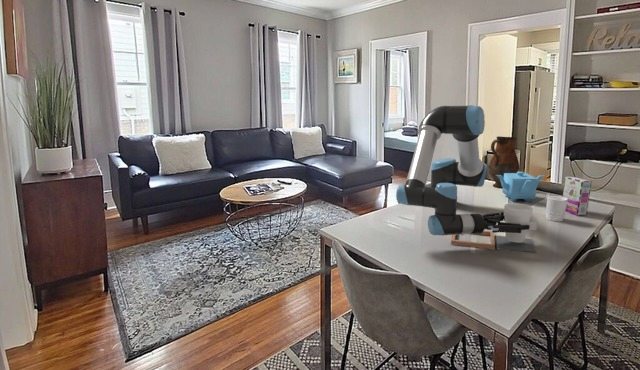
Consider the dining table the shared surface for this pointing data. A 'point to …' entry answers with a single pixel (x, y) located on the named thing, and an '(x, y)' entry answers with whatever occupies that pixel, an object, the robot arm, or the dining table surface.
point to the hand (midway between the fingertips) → (528, 221)
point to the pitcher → (503, 159)
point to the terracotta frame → (476, 244)
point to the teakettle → (519, 185)
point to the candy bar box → (577, 195)
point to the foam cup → (517, 219)
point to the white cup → (556, 208)
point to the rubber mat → (515, 244)
